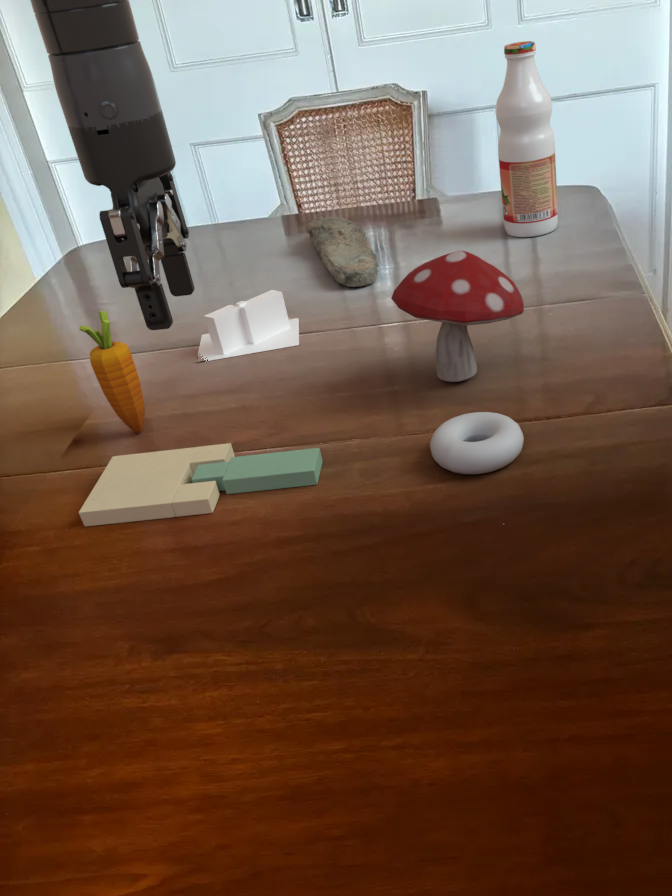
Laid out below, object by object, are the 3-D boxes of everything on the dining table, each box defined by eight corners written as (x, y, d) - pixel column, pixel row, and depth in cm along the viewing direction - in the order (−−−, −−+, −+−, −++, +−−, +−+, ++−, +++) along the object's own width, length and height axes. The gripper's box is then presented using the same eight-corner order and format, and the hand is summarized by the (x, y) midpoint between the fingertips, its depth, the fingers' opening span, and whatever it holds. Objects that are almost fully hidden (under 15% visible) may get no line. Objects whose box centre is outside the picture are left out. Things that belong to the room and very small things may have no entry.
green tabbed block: (323, 461, 99) (319, 447, 98) (317, 484, 95) (313, 470, 94) (204, 474, 100) (199, 460, 99) (194, 498, 97) (188, 483, 95)
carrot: (130, 446, 108) (83, 327, 99) (112, 435, 112) (65, 318, 102) (166, 430, 111) (124, 312, 102) (148, 419, 114) (105, 304, 105)
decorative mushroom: (428, 348, 121) (411, 233, 112) (543, 349, 116) (535, 229, 107) (386, 402, 109) (364, 279, 100) (512, 406, 104) (500, 277, 95)
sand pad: (235, 456, 103) (230, 442, 102) (213, 513, 94) (208, 498, 92) (118, 469, 104) (112, 456, 103) (84, 526, 95) (78, 512, 94)
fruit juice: (537, 240, 151) (525, 49, 134) (493, 235, 157) (477, 50, 139) (569, 224, 156) (562, 37, 139) (526, 219, 162) (514, 38, 145)
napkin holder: (298, 317, 136) (289, 279, 133) (300, 344, 128) (290, 305, 124) (200, 334, 136) (189, 297, 132) (195, 363, 127) (183, 324, 123)
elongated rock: (331, 303, 143) (392, 293, 145) (327, 270, 140) (389, 260, 141) (302, 235, 169) (353, 227, 171) (297, 205, 166) (350, 198, 168)
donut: (535, 437, 98) (449, 431, 101) (533, 408, 96) (446, 403, 99) (509, 485, 91) (418, 476, 94) (507, 455, 89) (414, 447, 92)
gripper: (96, 103, 78) (153, 289, 88) (36, 136, 67) (109, 345, 76) (180, 92, 77) (228, 280, 87) (134, 124, 66) (195, 336, 76)
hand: (172, 310), depth 82 cm, fingers open, 8 cm apart
